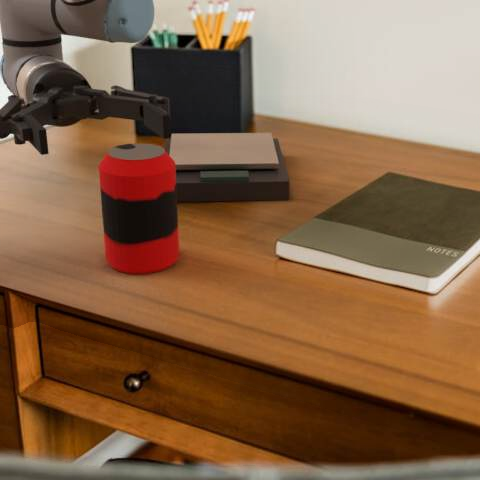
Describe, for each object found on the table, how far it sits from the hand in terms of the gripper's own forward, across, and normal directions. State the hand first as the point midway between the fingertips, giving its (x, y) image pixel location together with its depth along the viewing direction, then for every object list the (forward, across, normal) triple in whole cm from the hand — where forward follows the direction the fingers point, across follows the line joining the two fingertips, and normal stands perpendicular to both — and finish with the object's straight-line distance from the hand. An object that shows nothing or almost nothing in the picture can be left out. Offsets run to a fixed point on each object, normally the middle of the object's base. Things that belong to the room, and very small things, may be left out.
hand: (107, 134), depth 98 cm
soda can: (+10, 0, -11) cm, 15 cm away
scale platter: (-13, -19, -8) cm, 25 cm away
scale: (-12, -19, -11) cm, 25 cm away
